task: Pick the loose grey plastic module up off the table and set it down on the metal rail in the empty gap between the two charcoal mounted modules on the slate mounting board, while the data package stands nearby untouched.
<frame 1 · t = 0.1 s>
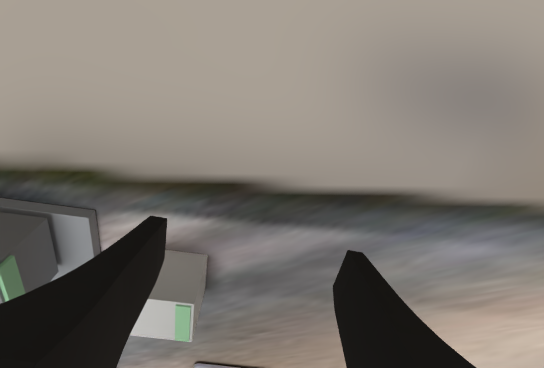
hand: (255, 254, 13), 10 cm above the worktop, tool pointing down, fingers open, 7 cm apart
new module: (164, 267, 27), on the worktop
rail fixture: (37, 295, 28), on the worktop
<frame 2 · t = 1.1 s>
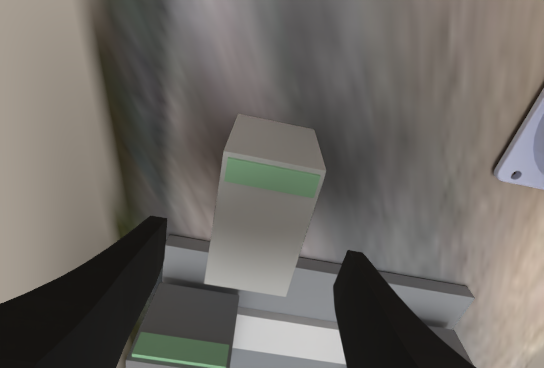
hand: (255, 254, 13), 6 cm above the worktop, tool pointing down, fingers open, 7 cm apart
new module: (263, 179, 18), on the worktop
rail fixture: (301, 322, 24), on the worktop
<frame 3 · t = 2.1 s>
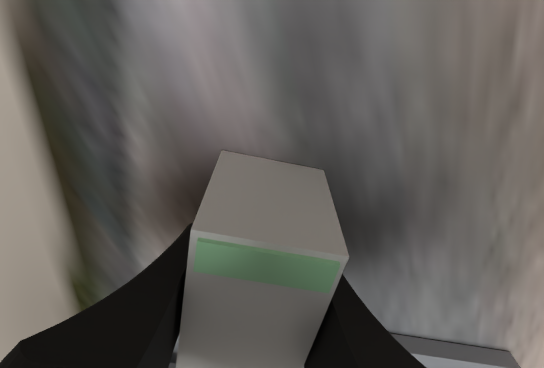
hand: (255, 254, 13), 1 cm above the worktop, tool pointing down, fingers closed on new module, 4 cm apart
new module: (256, 232, 14), on the worktop, touching gripper
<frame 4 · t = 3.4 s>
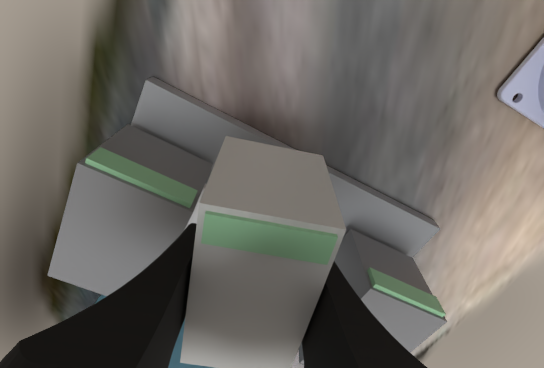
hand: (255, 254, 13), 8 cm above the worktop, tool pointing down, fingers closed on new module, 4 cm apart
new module: (258, 216, 15), point 6 cm above the worktop, touching gripper
data package: (177, 315, 27), on the worktop
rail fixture: (263, 225, 22), on the worktop
when the fingers open (5 cm above the worktop, at t = 4.8 s): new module stays where it is, resting on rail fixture.
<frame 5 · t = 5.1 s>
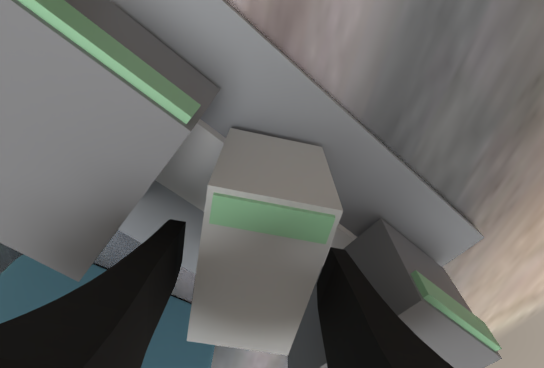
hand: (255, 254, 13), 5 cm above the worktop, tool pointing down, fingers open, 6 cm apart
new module: (260, 205, 15), point 2 cm above the worktop, touching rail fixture
data package: (124, 298, 21), on the worktop
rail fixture: (263, 196, 17), on the worktop
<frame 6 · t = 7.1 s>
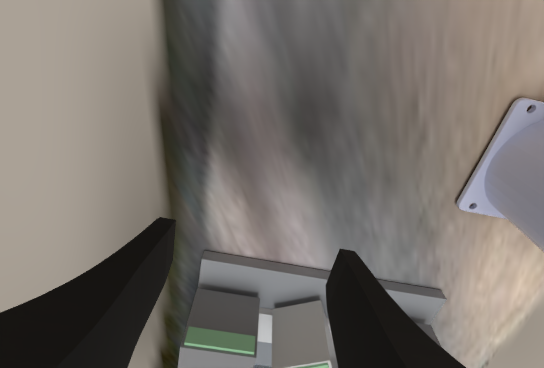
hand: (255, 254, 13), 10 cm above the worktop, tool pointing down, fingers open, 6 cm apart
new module: (306, 332, 28), point 2 cm above the worktop, touching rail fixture
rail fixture: (307, 319, 29), on the worktop
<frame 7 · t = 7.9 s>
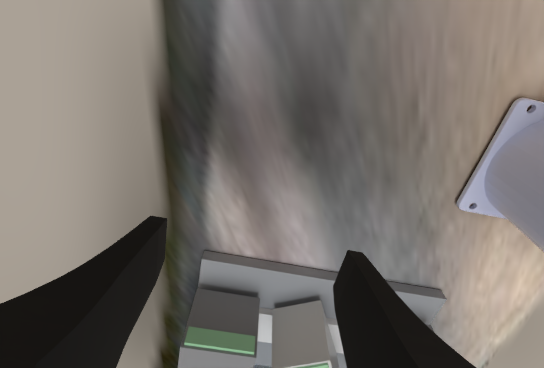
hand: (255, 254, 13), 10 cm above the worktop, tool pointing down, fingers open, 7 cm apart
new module: (306, 332, 28), point 2 cm above the worktop, touching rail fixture
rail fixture: (307, 319, 29), on the worktop
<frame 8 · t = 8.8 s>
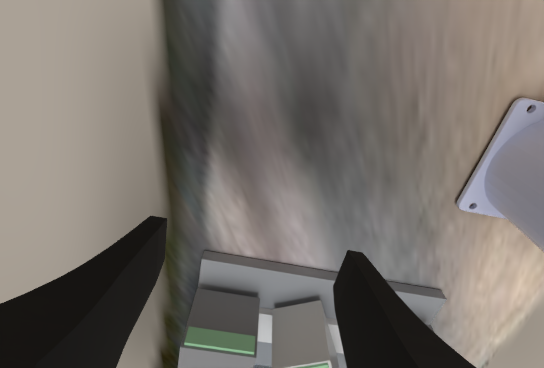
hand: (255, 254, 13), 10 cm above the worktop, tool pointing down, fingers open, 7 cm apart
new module: (306, 332, 28), point 2 cm above the worktop, touching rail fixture
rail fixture: (307, 319, 29), on the worktop
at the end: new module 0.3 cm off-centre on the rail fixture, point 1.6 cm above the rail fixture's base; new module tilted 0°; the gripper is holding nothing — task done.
